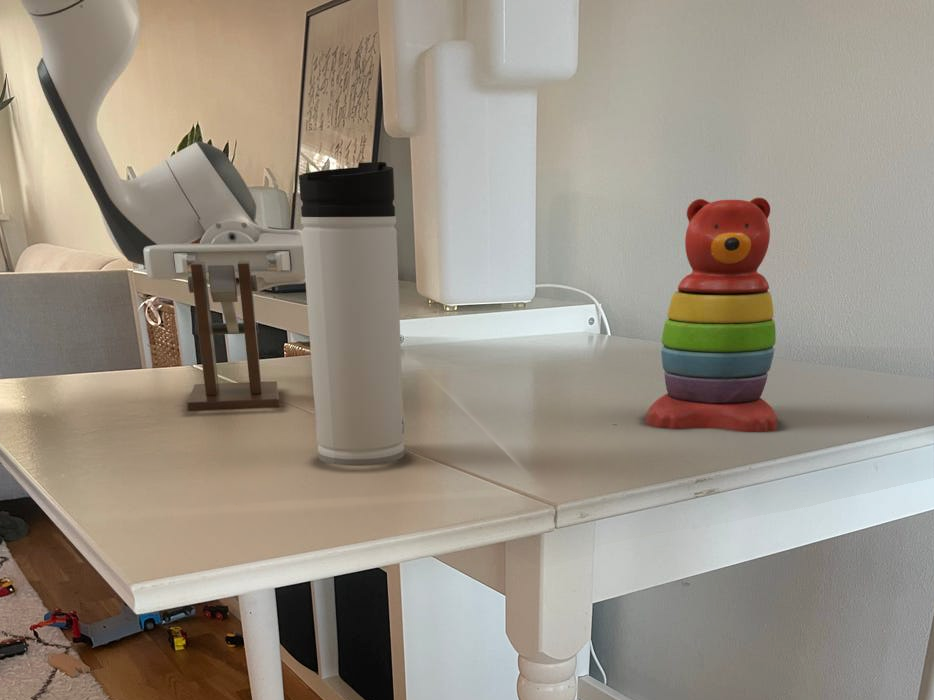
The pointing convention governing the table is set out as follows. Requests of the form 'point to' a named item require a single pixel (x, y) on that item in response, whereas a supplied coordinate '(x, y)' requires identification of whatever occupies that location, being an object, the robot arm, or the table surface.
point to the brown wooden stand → (212, 391)
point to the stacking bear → (720, 324)
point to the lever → (225, 298)
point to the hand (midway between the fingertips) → (232, 263)
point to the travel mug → (353, 313)
